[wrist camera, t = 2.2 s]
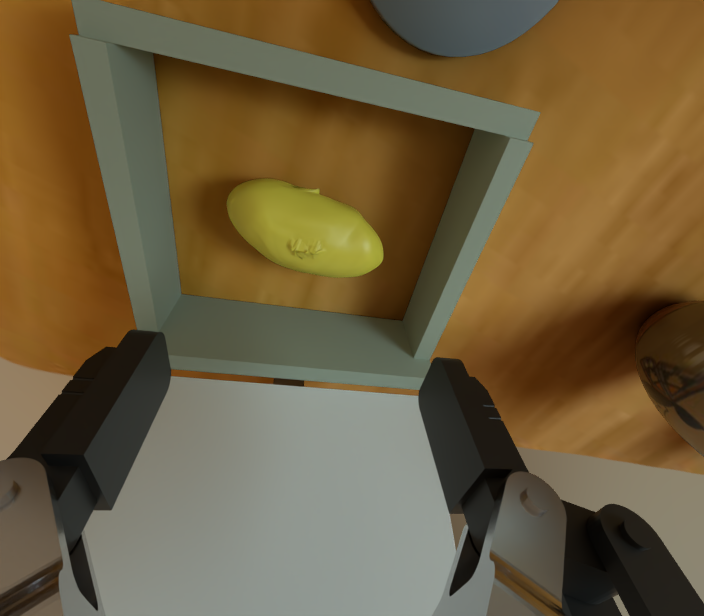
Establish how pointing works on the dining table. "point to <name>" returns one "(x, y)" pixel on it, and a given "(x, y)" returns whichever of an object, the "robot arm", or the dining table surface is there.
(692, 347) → the ceramic vessel
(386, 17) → the saucer
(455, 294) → the frame
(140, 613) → the lid
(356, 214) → the yellow oblong lump
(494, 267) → the dining table surface
